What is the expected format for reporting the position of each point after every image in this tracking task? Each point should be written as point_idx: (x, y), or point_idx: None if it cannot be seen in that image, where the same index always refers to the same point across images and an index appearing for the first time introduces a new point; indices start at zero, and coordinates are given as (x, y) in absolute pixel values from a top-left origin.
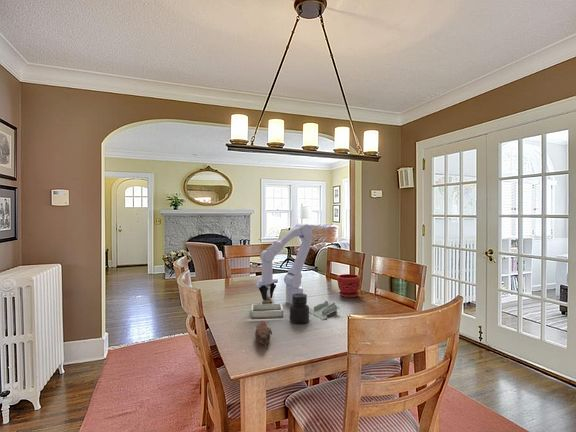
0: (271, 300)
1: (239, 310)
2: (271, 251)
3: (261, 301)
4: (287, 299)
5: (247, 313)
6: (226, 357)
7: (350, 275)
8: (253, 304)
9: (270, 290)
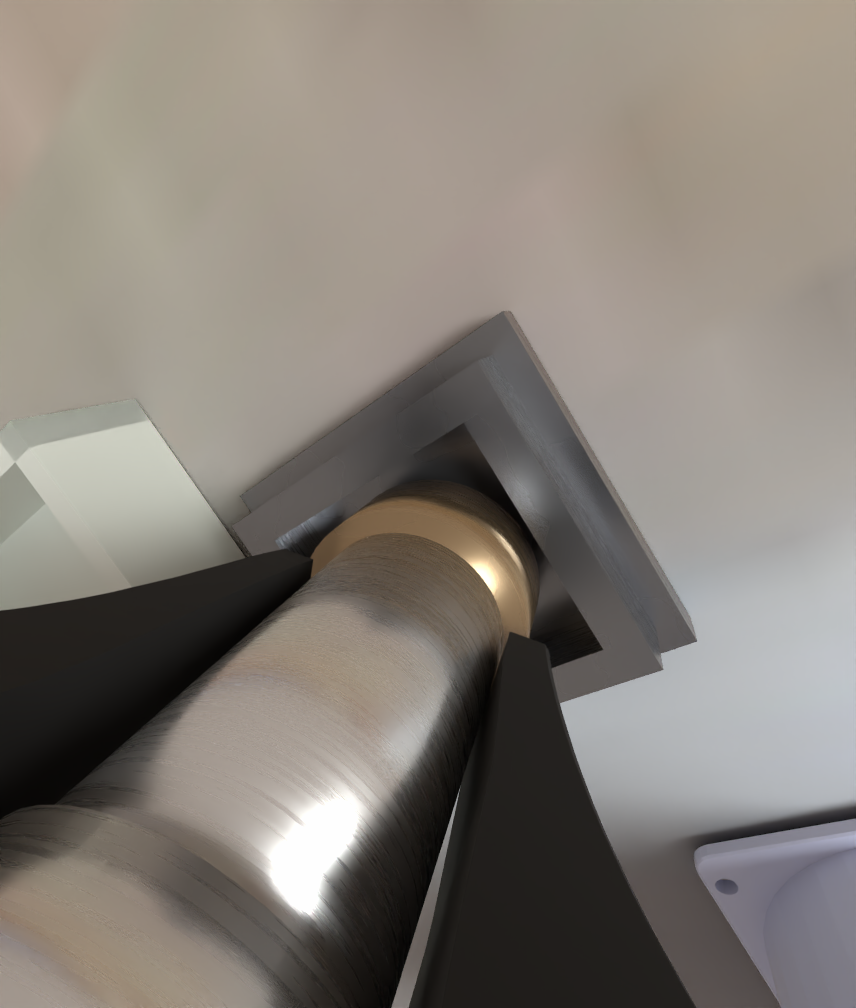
0: (623, 632)
1: (28, 148)
2: None
3: (416, 428)
4: (822, 981)
5: (33, 398)
6: None
7: None
8: (22, 464)
9: (430, 954)
